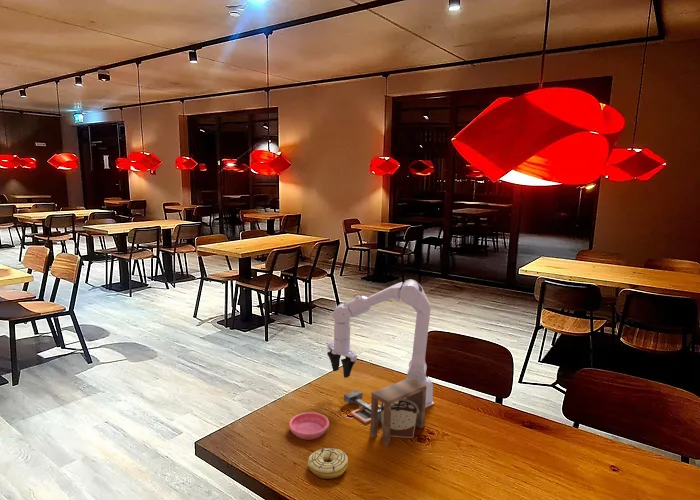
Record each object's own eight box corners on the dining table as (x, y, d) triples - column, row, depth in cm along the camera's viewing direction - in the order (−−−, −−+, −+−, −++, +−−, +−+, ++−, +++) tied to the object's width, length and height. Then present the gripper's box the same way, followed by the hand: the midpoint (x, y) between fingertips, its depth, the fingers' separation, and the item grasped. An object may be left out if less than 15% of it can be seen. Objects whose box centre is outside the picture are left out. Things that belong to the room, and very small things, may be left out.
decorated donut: (320, 452, 127) (320, 440, 127) (353, 463, 123) (354, 451, 122) (301, 473, 118) (301, 461, 118) (336, 486, 114) (337, 473, 113)
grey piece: (358, 395, 159) (359, 386, 159) (392, 415, 146) (392, 405, 146) (341, 402, 154) (341, 392, 154) (374, 423, 141) (374, 413, 141)
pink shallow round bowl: (295, 446, 130) (295, 437, 129) (284, 425, 141) (284, 416, 141) (335, 437, 135) (335, 428, 134) (320, 417, 146) (321, 408, 146)
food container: (417, 427, 141) (418, 398, 140) (418, 438, 135) (419, 408, 134) (378, 424, 142) (379, 395, 141) (377, 435, 136) (378, 405, 135)
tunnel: (408, 417, 147) (410, 377, 145) (424, 427, 142) (426, 385, 139) (370, 435, 136) (371, 392, 134) (385, 446, 131) (387, 401, 129)
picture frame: (374, 404, 155) (374, 402, 155) (389, 413, 149) (389, 411, 149) (350, 414, 148) (350, 411, 148) (365, 424, 142) (365, 421, 142)
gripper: (320, 334, 160) (320, 369, 163) (346, 346, 149) (345, 384, 152) (336, 330, 165) (335, 364, 167) (361, 341, 154) (360, 378, 156)
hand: (341, 373), depth 160 cm, fingers open, 6 cm apart
